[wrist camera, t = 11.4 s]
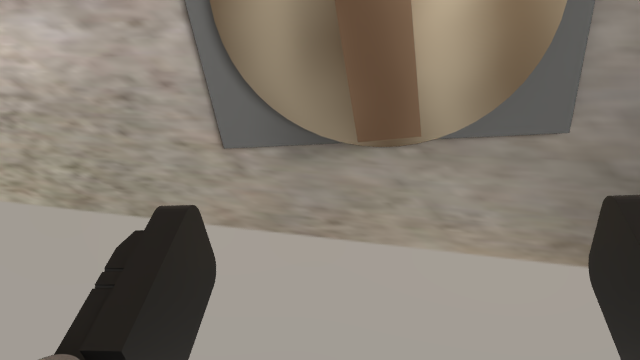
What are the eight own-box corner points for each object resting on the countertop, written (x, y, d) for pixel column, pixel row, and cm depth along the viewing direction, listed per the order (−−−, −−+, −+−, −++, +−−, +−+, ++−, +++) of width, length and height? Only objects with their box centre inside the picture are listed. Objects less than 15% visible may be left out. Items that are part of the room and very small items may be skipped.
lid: (587, -273, 17) (670, -293, 12) (551, 121, 26) (589, 207, 21) (163, -177, 20) (85, -160, 15) (260, 148, 29) (231, 228, 24)
